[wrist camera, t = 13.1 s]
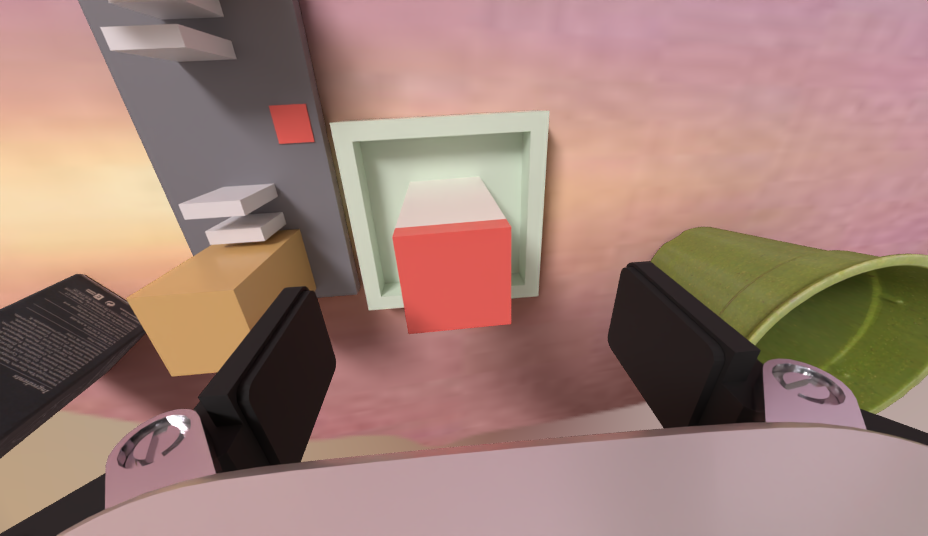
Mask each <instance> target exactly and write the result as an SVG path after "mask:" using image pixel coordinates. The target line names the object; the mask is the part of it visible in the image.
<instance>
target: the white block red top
mask: <svg viewBox="0 0 928 536" xmlns="http://www.w3.org/2000/svg"><path fill="white" fill-rule="evenodd" d="M392 239H393V245H394V251H395V257H396V263H397V268H398V274H399V280H400V286H401V292H402V298H403V304H404V310H405V316H406V322H407V328H408V334H415V333H425V332H435V331H445V330H455V329H465V328H475V327H485V326H495V325H506V324H511V226H510V224H509V222H508V221H507V219H506V218H505V216H504V214H503V213H502V211H501V210H500V208H499V207H498V205H497V203H496V202H495V200H494V199H493V197H492V195H491V194H490V192H489V191H488V189H487V188H486V186H485V184H484V183H483V181H482V180H481V178H480V177H479V176H477V177H465V178H452V179H439V180H427V181H414V182H410V183H409V186H408V190H407V193H406V196H405V199H404V202H403V205H402V208H401V211H400V214H399V218H398V221H397V224H396V227H395V230H394V233H393V236H392Z"/></svg>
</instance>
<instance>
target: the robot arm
mask: <svg viewBox="0 0 928 536" xmlns="http://www.w3.org/2000/svg"><path fill="white" fill-rule="evenodd" d="M608 343H609V346H610V348H611V350H612V351H613V353H614V354H615V356H616V357H617V359H618V360H619V362H620V363H621V365H622V366H623V368H624V369H625V371H626V372H627V374H628V375H629V377H630V378H631V380H632V381H633V383H634V384H635V386H636V387H637V389H638V390H639V392H640V393H641V395H642V396H643V398H644V399H645V401H646V402H647V404H648V405H649V407H650V408H651V410H652V411H653V413H654V414H655V416H656V417H657V419H658V420H659V421H660V423H661V425H662V426H663V428H664V429H653V430H642V431H630V432H618V433H606V434H594V435H583V436H571V437H560V438H549V439H538V440H526V441H515V442H505V443H493V444H482V445H471V446H461V447H450V448H439V449H428V450H418V451H408V452H398V453H388V454H378V455H367V456H356V457H346V458H335V459H326V460H317V461H308V462H301V460H302V457H303V454H304V451H305V449H306V446H307V444H308V441H309V438H310V436H311V433H312V430H313V428H314V425H315V422H316V420H317V417H318V414H319V411H320V409H321V406H322V403H323V401H324V398H325V395H326V393H327V390H328V387H329V385H330V382H331V379H332V377H333V374H334V371H335V368H336V359H335V355H334V352H333V348H332V345H331V342H330V339H329V335H328V332H327V329H326V325H325V322H324V319H323V316H322V312H321V309H320V306H319V303H318V299H317V296H316V293H315V292H314V291H313V290H309V289H308V287H306V286H299V287H286V288H284V289H283V290H282V291H281V292H280V294H279V295H278V296H277V298H276V299H275V300H274V301H273V303H272V304H271V305H270V306H269V308H268V309H267V310H266V312H265V313H264V314H263V315H262V317H261V318H260V319H259V320H258V322H257V323H256V324H255V325H254V327H253V328H252V329H251V331H250V332H249V333H248V334H247V336H246V337H245V338H244V339H243V341H242V342H241V343H240V344H239V346H238V347H237V348H236V350H235V351H234V352H233V353H232V355H231V356H230V357H229V358H228V360H227V361H226V362H225V363H224V365H223V366H222V367H221V369H220V370H219V371H218V372H217V374H216V375H215V376H214V377H213V379H212V380H211V381H210V382H209V384H208V385H207V386H206V388H205V389H204V390H203V391H202V393H201V394H200V395H199V396H198V398H199V400H200V402H199V403H198V404H197V406H196V407H195V408H194V410H190V409H176V410H172V411H168V412H165V413H162V414H160V415H158V416H155V417H153V418H151V419H149V420H147V421H146V422H144V423H142V424H140V425H139V426H137V427H136V428H135V429H133V430H132V431H131V432H129V433H128V434H127V435H126V436H125V437H124V438H123V439H122V440H121V441H120V442H119V443H118V444H117V445H116V446H115V447H114V449H113V450H112V452H111V453H110V455H109V456H108V459H107V463H106V473H105V474H103V475H101V476H100V477H98V478H96V479H94V480H93V481H91V482H89V483H88V484H86V485H84V486H82V487H81V488H79V489H77V490H75V491H74V492H72V493H70V494H68V495H67V496H65V497H63V498H62V499H60V500H58V501H56V502H55V503H53V504H51V505H49V506H48V507H46V508H44V509H42V510H41V511H39V512H37V513H35V514H34V515H32V516H30V517H28V518H27V519H25V520H23V521H22V522H20V523H18V524H16V525H15V526H13V527H11V528H10V529H8V530H6V531H4V532H2V533H1V534H0V536H928V433H925V432H923V431H920V430H917V429H915V428H912V427H909V426H906V425H904V424H901V423H898V422H895V421H893V420H890V419H887V418H884V417H882V416H879V415H876V414H874V413H871V412H868V411H865V410H863V409H860V408H859V405H858V403H857V400H856V398H855V396H854V394H853V393H852V391H851V390H850V389H849V388H848V387H847V386H846V385H845V384H844V383H843V382H841V381H840V380H838V379H837V378H835V377H834V376H832V375H831V374H829V373H827V372H825V371H823V370H821V369H819V368H817V367H814V366H812V365H809V364H806V363H803V362H799V361H795V360H791V359H779V358H778V359H772V360H769V361H767V362H766V363H764V364H762V363H761V362H760V361H759V360H758V359H757V357H758V355H759V353H760V351H761V350H760V349H759V348H758V347H756V346H755V345H754V344H753V343H751V342H750V341H749V340H748V339H746V338H745V337H744V336H743V335H741V334H740V333H739V332H738V331H736V330H735V329H734V328H733V327H731V326H730V325H729V324H728V323H726V322H725V321H724V320H723V319H722V318H720V317H719V316H718V315H717V314H715V313H714V312H713V311H712V310H710V309H709V308H708V307H707V306H705V305H704V304H703V303H702V302H700V301H699V300H698V299H697V298H695V297H694V296H693V295H692V294H690V293H689V292H688V291H687V290H686V289H684V288H683V287H682V286H681V285H679V284H678V283H677V282H676V281H674V280H673V279H672V278H671V277H669V276H668V275H667V274H666V273H664V272H663V271H662V270H661V269H659V268H658V267H657V266H656V265H654V264H653V263H652V262H650V261H646V262H632V263H629V264H628V265H627V266H626V268H623V269H622V271H621V274H620V279H619V284H618V289H617V294H616V299H615V304H614V308H613V313H612V318H611V323H610V328H609V333H608Z"/></svg>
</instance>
